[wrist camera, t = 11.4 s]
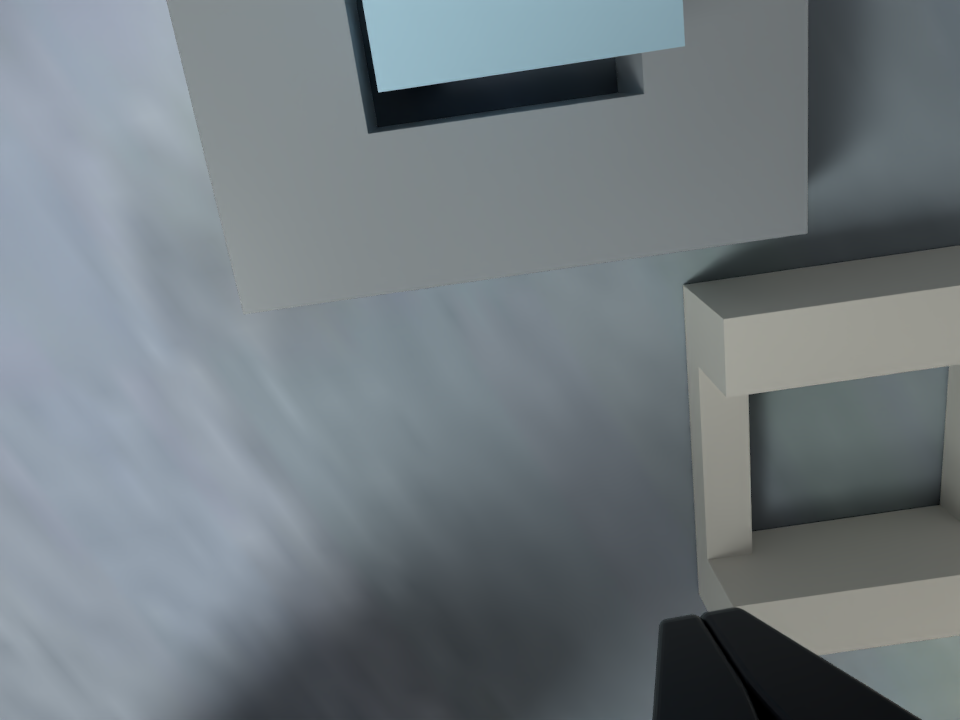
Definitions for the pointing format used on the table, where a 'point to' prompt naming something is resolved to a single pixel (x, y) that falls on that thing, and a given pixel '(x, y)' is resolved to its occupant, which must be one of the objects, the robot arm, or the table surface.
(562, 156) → the socket
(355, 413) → the table surface
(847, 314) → the grey square frame
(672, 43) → the plug
